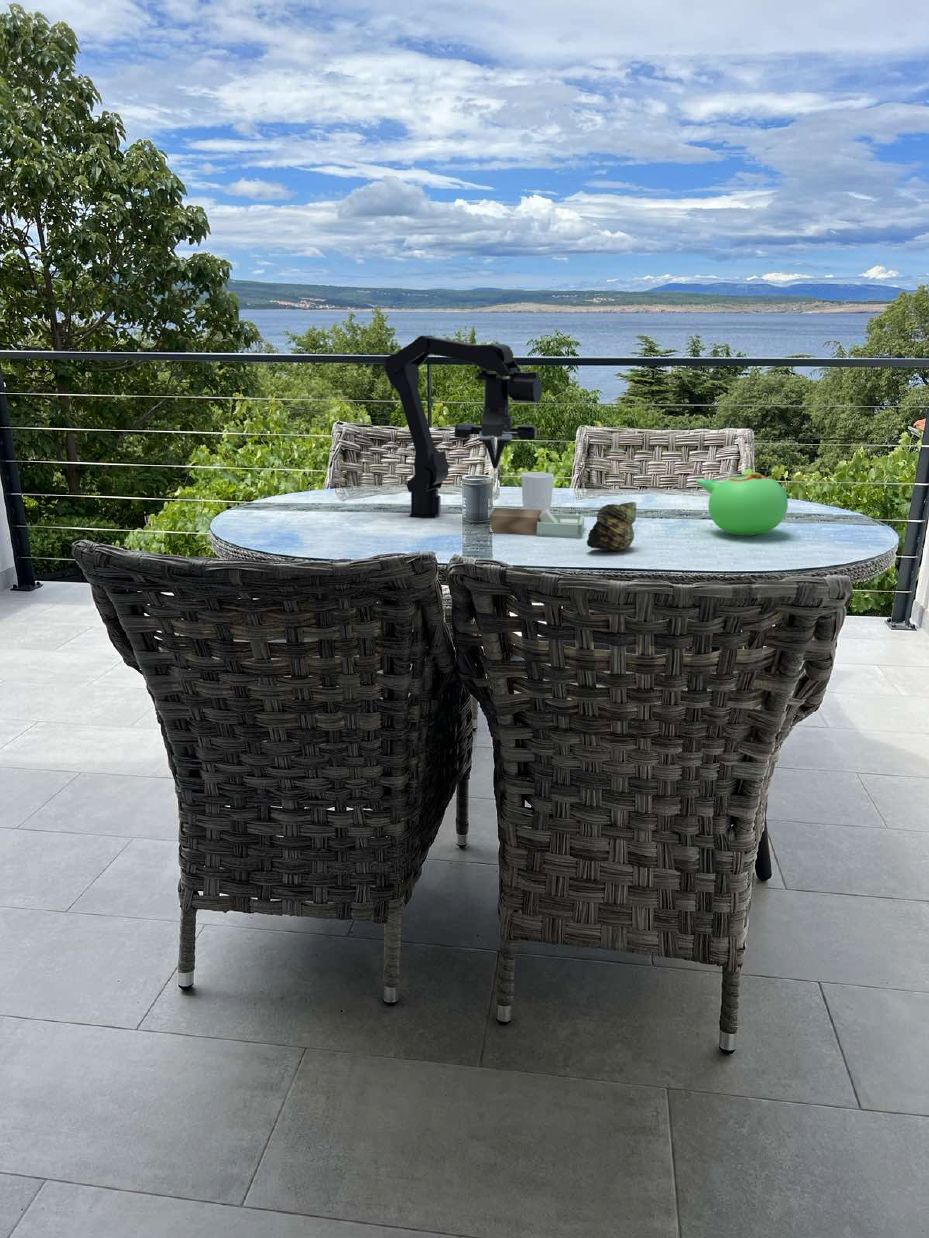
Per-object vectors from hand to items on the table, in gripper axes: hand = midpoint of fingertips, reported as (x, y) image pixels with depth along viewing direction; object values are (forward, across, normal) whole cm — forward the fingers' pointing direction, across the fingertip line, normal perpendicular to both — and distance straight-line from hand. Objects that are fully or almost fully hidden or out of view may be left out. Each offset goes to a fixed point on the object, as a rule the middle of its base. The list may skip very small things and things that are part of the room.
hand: (495, 468), depth 233 cm
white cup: (+13, +9, +12) cm, 20 cm away
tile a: (+11, +13, -7) cm, 18 cm away
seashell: (+13, +28, -22) cm, 38 cm away
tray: (+13, +16, -7) cm, 22 cm away
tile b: (+10, +18, -7) cm, 22 cm away
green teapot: (+13, +58, 0) cm, 60 cm away
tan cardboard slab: (+13, +6, -7) cm, 16 cm away
